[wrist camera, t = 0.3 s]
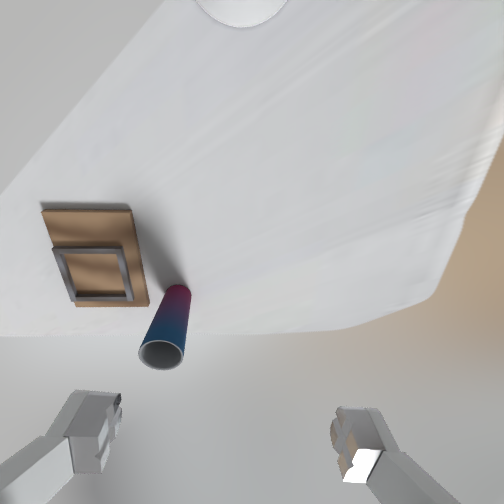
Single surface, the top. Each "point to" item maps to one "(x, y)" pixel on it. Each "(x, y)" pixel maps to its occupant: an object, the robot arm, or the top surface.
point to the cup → (167, 331)
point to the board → (98, 257)
